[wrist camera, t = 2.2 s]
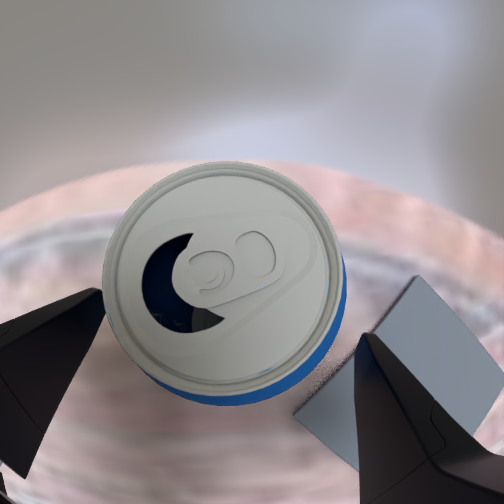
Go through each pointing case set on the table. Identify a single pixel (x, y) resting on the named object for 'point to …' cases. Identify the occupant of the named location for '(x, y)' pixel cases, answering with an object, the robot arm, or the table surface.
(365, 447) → the robot arm
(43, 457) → the table surface
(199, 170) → the beverage can
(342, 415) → the mat
